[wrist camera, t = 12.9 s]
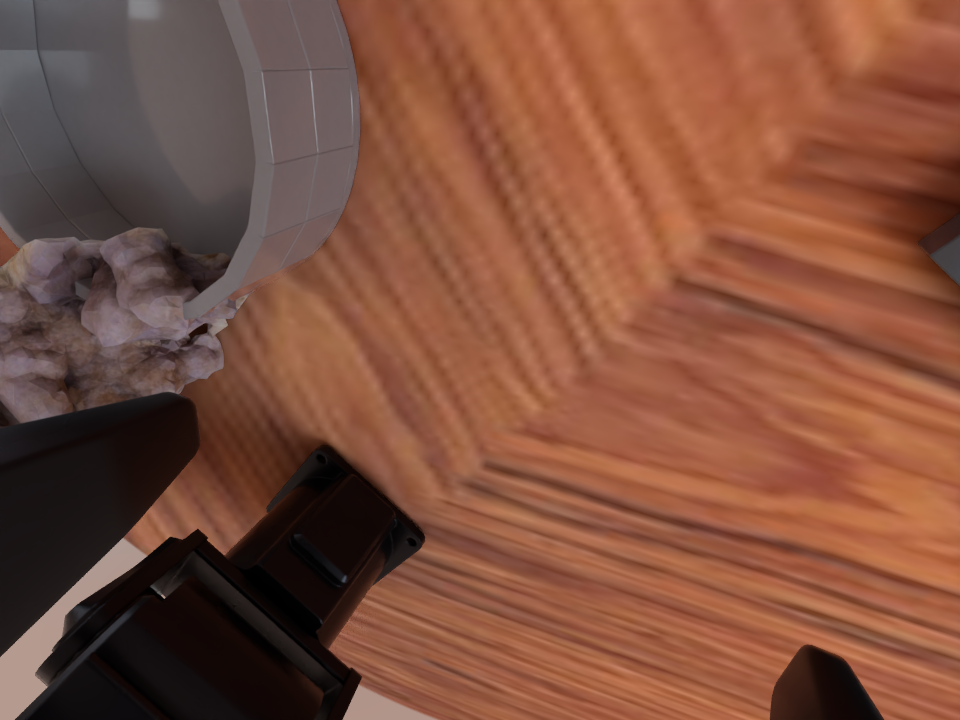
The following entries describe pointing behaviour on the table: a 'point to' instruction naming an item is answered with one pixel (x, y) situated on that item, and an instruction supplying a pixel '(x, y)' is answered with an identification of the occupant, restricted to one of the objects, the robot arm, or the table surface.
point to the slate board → (945, 247)
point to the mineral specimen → (103, 323)
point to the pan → (179, 128)
